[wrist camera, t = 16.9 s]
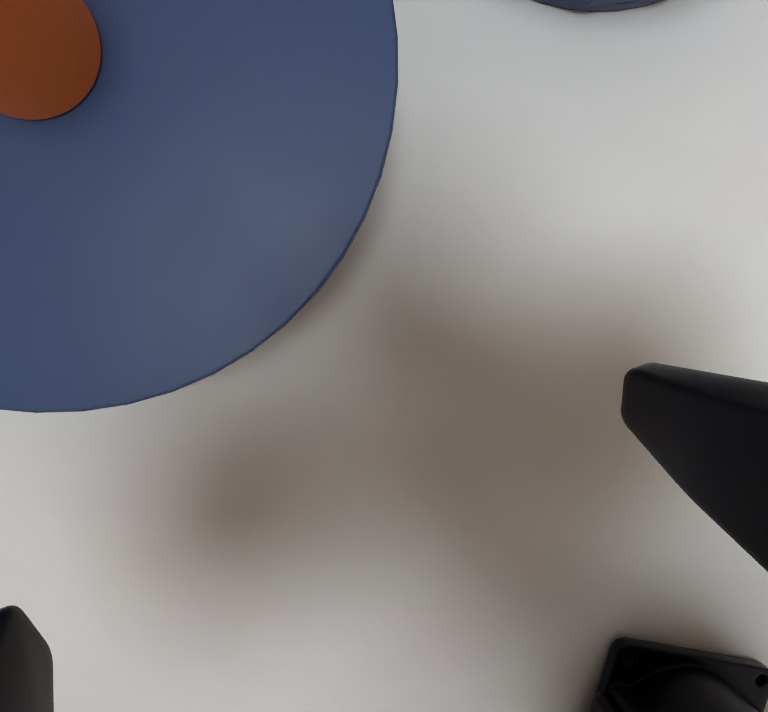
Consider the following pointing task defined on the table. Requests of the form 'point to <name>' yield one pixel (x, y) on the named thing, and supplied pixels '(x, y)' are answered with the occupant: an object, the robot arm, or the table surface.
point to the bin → (598, 4)
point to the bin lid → (176, 182)
